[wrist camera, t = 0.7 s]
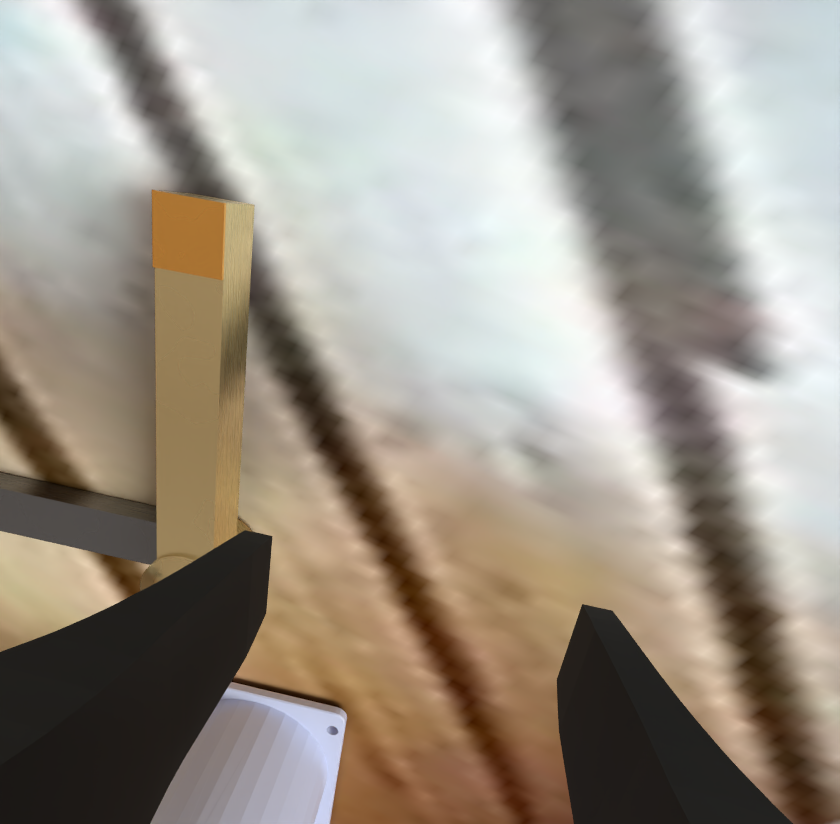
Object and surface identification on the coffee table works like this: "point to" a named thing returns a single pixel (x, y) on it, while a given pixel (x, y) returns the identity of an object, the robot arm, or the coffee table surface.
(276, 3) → the coffee table surface
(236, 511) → the lever
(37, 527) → the levelling base
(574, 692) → the robot arm
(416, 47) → the coffee table surface
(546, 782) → the coffee table surface
